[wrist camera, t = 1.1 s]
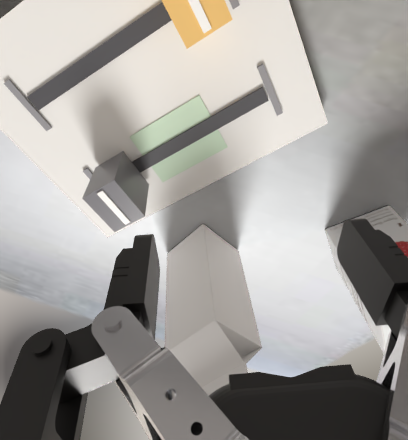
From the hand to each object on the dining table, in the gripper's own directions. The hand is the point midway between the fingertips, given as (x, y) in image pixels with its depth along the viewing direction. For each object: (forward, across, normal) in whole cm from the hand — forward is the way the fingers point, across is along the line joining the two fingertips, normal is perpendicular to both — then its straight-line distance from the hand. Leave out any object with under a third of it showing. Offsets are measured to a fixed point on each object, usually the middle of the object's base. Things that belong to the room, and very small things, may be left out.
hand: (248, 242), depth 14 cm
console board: (+23, +6, -1) cm, 23 cm away
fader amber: (+20, +1, -8) cm, 22 cm away
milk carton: (+23, +2, +21) cm, 31 cm away
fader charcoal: (+20, +10, +7) cm, 23 cm away
